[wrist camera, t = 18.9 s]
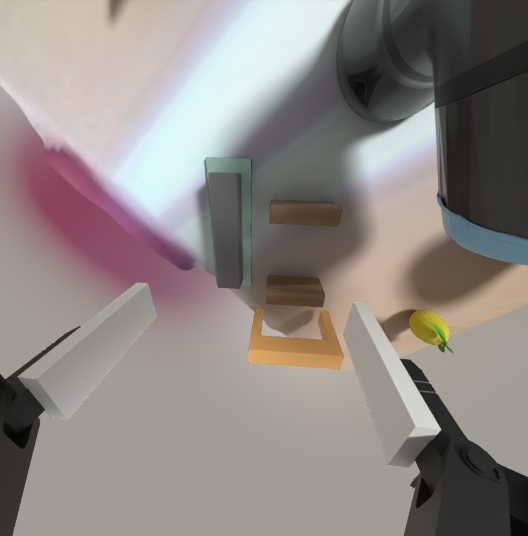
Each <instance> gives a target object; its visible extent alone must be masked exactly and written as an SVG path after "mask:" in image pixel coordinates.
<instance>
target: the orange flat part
mask: <svg viewBox="0 0 528 536" xmlns="http://www.w3.org/2000/svg"><path fill="white" fill-rule="evenodd" d="M262 320H263V307H256V308H255V314H254V320H253V326H252V332H251V338H250V345H249V363H259V364H273V365H286V366H299V367H314V368H327V369H339V370H340V367H341V364H342V360H343V357H344V356H343V353H342V350H341V347H340V344H339V341H338V339H337V336H336V333H335V330H334V327H333V324H332V321H331V319H330V316H329V313H328V311H320V315H319V320H318V324H319V328H320V332H321V335H322V339H323V340H315V339H301V338H286V337H271V336H261V330H262Z"/></svg>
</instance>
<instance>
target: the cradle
mask: <svg viewBox="0 0 528 536" xmlns="http://www.w3.org/2000/svg"><path fill="white" fill-rule="evenodd" d="M341 212H342V208H340V207H339V206H337V205H335V204H334V203H332V202H310V201H284V200H272V201H271V207H270V223H272V224H295V225H317V226H339V222H340V217H341ZM324 298H325V294H324V291H323V289H322V286H321V283H320V281H319V278H302V277H284V276H268V286H267V302H266V304H278V305H294V306H310V307H323V303H324Z"/></svg>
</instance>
